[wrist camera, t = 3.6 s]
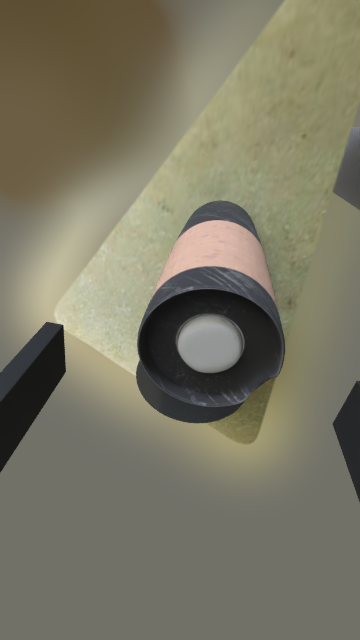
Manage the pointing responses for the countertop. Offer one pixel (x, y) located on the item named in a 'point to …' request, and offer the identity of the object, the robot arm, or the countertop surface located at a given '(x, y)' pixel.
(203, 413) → the jar
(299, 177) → the countertop surface
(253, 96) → the countertop surface
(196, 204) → the countertop surface
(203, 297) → the travel mug
